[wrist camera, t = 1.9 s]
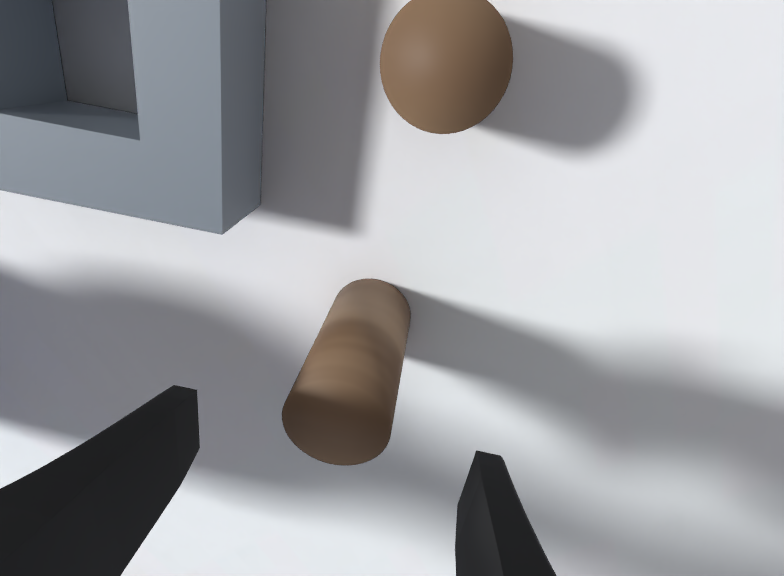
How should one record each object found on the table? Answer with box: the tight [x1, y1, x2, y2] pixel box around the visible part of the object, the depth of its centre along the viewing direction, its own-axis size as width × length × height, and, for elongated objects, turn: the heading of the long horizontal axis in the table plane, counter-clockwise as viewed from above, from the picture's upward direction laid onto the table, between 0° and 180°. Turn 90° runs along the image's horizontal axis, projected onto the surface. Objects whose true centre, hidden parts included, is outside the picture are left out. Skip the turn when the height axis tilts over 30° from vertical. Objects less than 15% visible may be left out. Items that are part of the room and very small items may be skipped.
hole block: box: [0, 0, 266, 235], centre depth 13 cm, size 9×9×3 cm
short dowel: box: [380, 0, 513, 134], centre depth 12 cm, size 3×3×4 cm
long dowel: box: [282, 279, 411, 465], centre depth 15 cm, size 3×3×6 cm
